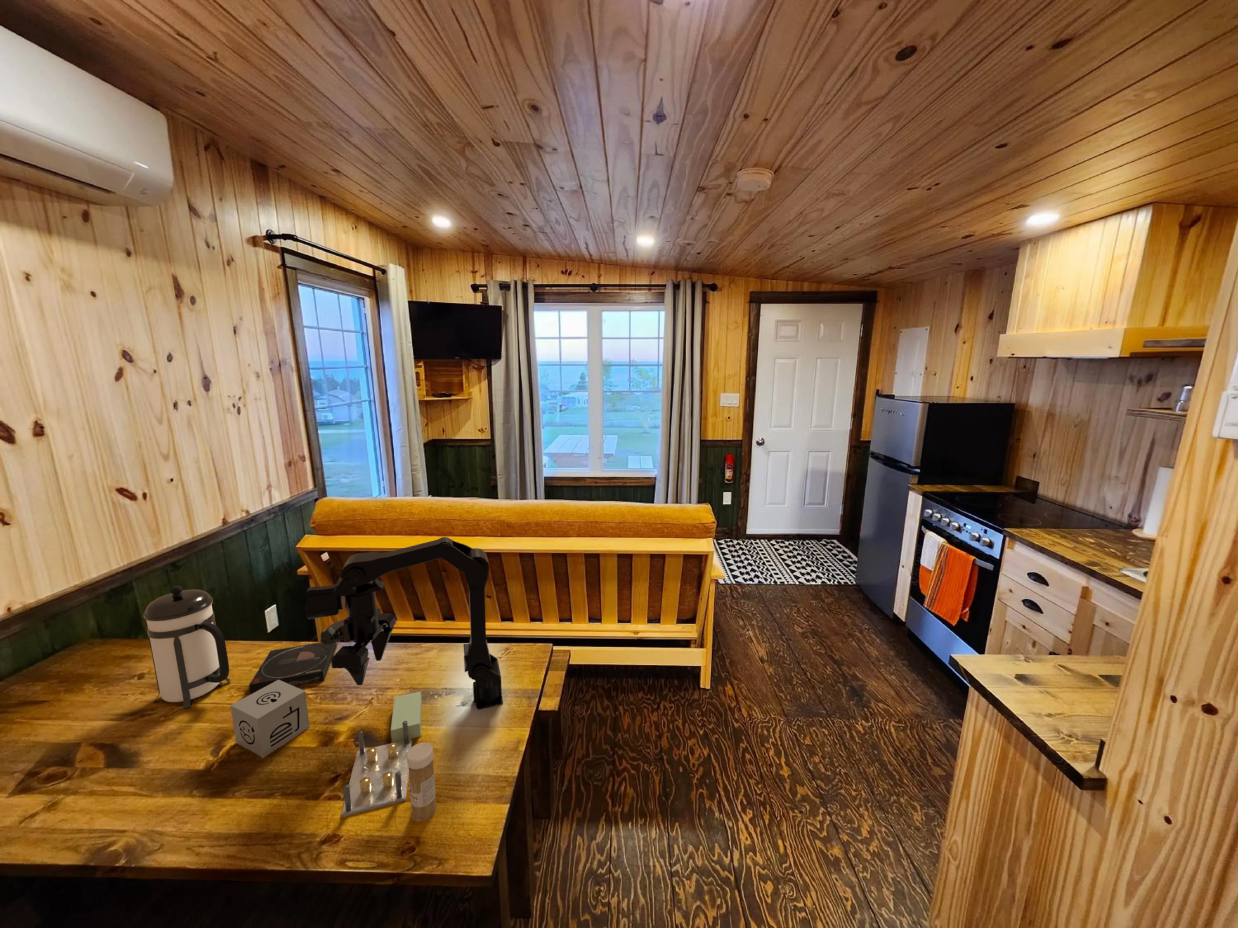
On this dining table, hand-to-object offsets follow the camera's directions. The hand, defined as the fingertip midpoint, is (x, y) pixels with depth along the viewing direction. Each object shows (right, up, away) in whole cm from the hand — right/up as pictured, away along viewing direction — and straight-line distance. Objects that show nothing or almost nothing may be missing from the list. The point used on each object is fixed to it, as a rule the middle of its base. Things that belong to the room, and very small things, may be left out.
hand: (369, 671), depth 109 cm
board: (+7, -14, +3) cm, 16 cm away
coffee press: (-52, -12, +13) cm, 55 cm away
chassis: (+9, -17, -12) cm, 22 cm away
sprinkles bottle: (+21, -18, -20) cm, 34 cm away
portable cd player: (-33, -11, +23) cm, 41 cm away
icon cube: (-22, -15, -1) cm, 26 cm away
